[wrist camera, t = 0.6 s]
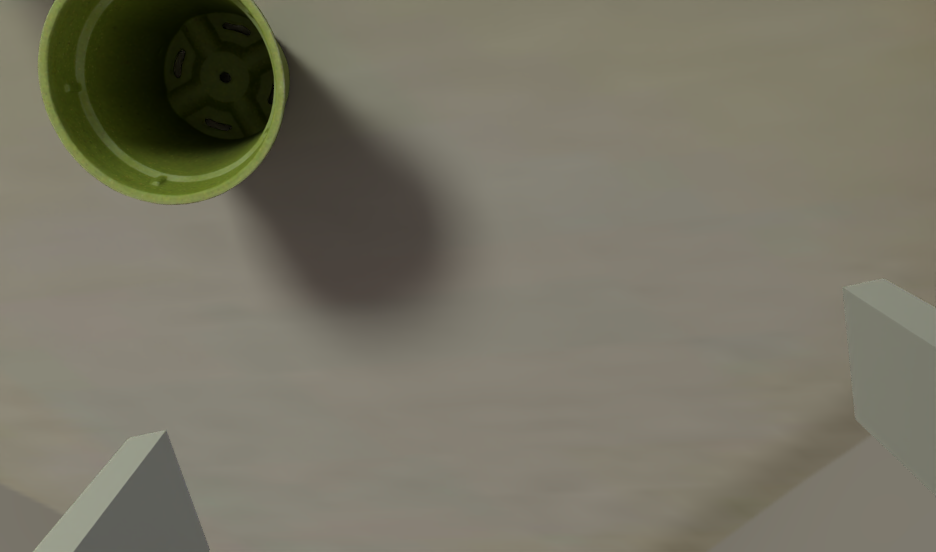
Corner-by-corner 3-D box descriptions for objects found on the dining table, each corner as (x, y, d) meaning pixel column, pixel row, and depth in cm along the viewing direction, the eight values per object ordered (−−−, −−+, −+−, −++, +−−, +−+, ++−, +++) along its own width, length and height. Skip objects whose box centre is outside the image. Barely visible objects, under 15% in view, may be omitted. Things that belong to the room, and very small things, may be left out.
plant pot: (116, 148, 40) (23, 173, 31) (143, -50, 37) (50, -81, 29) (303, 193, 40) (261, 229, 32) (340, 1, 38) (306, -14, 30)
